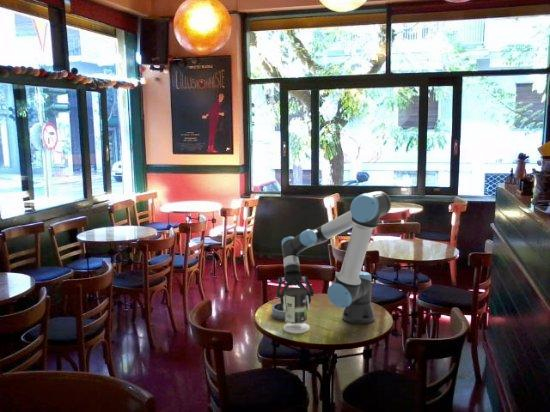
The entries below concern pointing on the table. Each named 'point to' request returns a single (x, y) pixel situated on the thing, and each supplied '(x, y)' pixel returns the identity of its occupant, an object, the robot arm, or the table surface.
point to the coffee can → (296, 305)
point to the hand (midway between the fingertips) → (296, 310)
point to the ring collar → (278, 311)
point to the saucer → (296, 328)
